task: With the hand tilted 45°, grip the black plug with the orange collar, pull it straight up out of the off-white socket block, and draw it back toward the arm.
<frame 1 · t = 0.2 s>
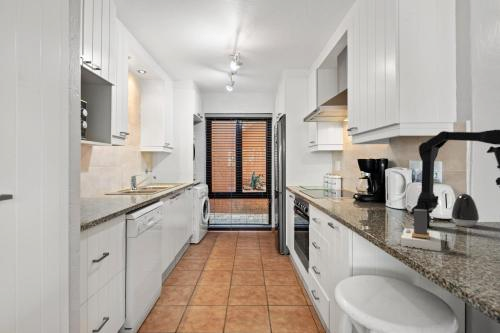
plug: (420, 244, 101), resting in socket block
socket block: (421, 242, 104), on the worktop
black egg-shaped dome: (465, 226, 129), on the worktop
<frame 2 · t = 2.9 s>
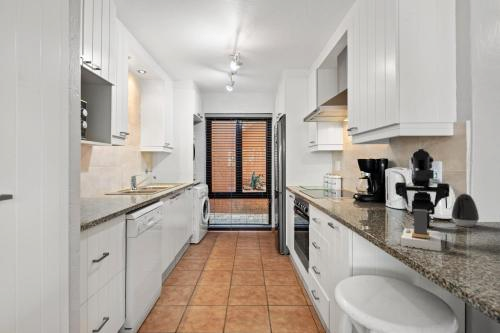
hand: (421, 205, 107), 13 cm above the worktop, tool tilted 45°, fingers open, 9 cm apart
nothing on the worktop moved.
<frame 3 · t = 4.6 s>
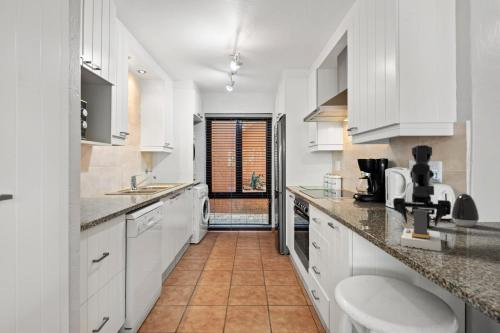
hand: (420, 224, 100), 8 cm above the worktop, tool tilted 45°, fingers open, 9 cm apart
nothing on the worktop moved.
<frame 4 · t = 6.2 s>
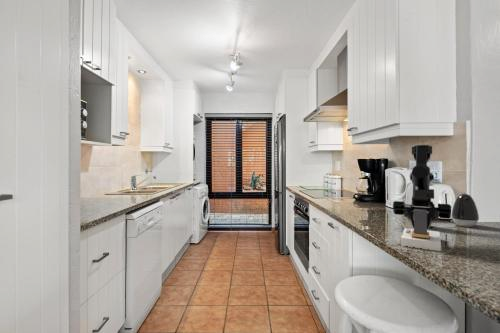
hand: (420, 228, 99), 7 cm above the worktop, tool tilted 45°, fingers closed on plug, 4 cm apart
plug: (420, 244, 101), resting in socket block, touching gripper
everything else where it was.
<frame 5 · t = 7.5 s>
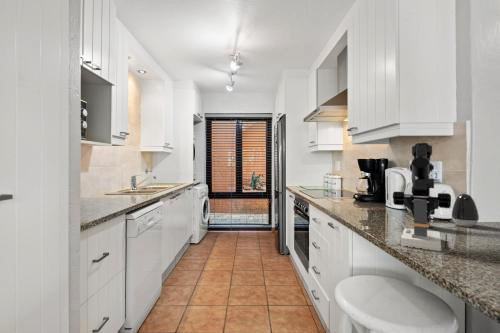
hand: (420, 217, 99), 10 cm above the worktop, tool tilted 45°, fingers closed on plug, 4 cm apart
plug: (420, 234, 101), point 4 cm above the worktop, touching gripper
everything else where it was.
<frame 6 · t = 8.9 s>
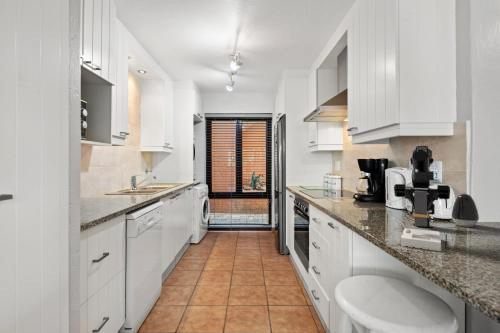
hand: (420, 208, 104), 13 cm above the worktop, tool tilted 45°, fingers closed on plug, 4 cm apart
plug: (420, 224, 105), point 6 cm above the worktop, touching gripper
everything else where it was.
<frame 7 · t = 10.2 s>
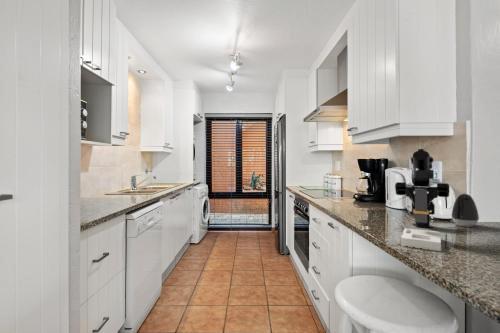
hand: (420, 205, 107), 13 cm above the worktop, tool tilted 45°, fingers closed on plug, 4 cm apart
plug: (421, 221, 109), point 7 cm above the worktop, touching gripper
everything else where it was.
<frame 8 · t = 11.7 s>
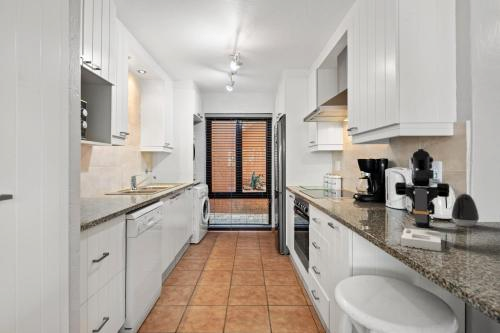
hand: (420, 205, 107), 13 cm above the worktop, tool tilted 45°, fingers closed on plug, 4 cm apart
plug: (421, 221, 109), point 7 cm above the worktop, touching gripper
everything else where it was.
at the end: plug point 6.9 cm above the worktop; the gripper is holding plug; plug moved 11.8 cm from its start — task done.
